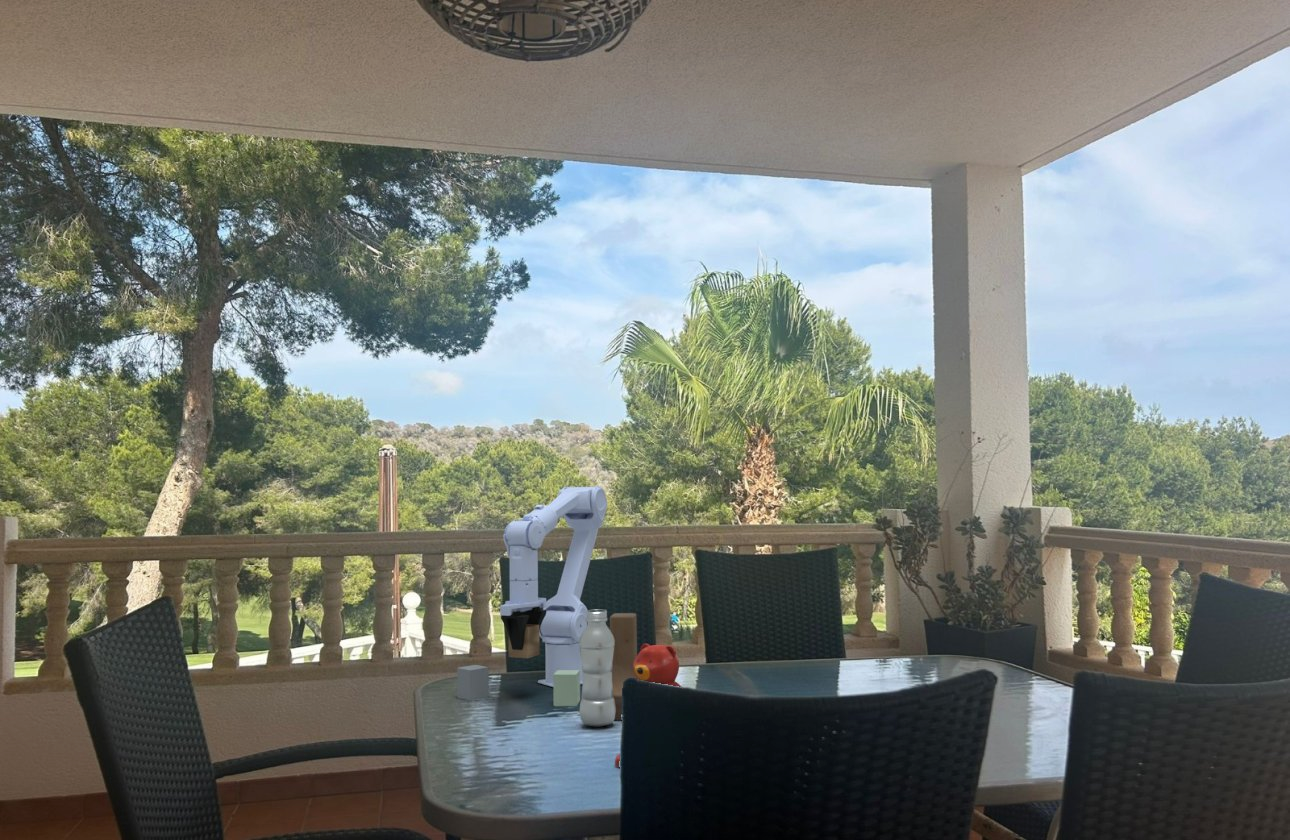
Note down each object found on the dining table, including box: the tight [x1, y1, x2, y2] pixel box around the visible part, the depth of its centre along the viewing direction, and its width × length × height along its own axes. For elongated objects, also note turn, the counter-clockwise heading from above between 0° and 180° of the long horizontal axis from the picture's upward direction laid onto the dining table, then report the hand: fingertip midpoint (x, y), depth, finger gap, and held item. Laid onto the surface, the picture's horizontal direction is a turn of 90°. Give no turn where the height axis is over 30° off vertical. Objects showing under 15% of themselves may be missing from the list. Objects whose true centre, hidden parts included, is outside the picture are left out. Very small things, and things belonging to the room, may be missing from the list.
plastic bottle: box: [579, 609, 616, 728], centre depth 165 cm, size 6×7×20 cm
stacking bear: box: [614, 643, 682, 768], centre depth 140 cm, size 11×10×18 cm
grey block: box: [456, 664, 490, 702], centre depth 190 cm, size 4×4×6 cm
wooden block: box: [609, 612, 638, 721], centre depth 173 cm, size 9×4×18 cm, turn 173°
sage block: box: [552, 670, 581, 707], centre depth 183 cm, size 4×4×6 cm
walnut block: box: [508, 624, 540, 659], centre depth 189 cm, size 4×4×6 cm
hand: (524, 647), depth 189 cm, fingers closed on walnut block, 4 cm apart
